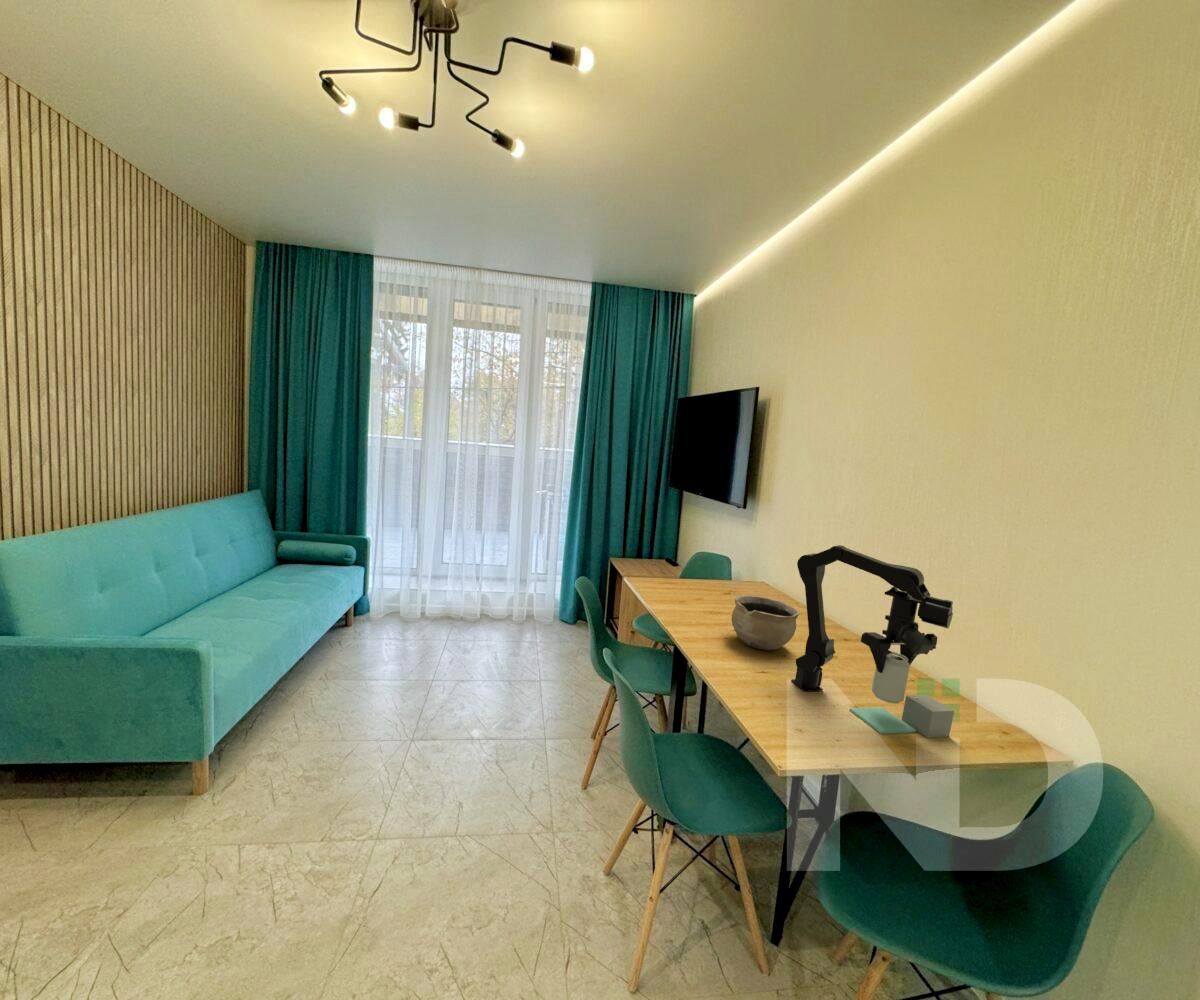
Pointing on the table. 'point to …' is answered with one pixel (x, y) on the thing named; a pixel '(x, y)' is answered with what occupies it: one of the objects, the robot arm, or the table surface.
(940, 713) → the unit
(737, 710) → the table surface
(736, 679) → the table surface
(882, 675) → the can
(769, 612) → the ceramic bowl
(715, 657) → the table surface
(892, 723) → the mat
